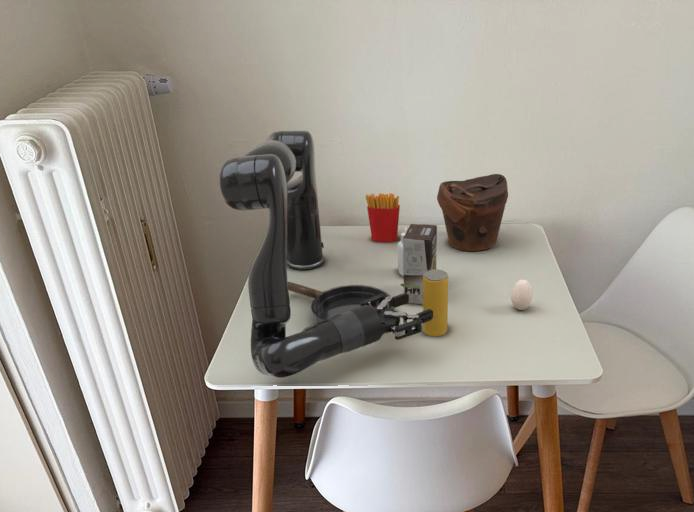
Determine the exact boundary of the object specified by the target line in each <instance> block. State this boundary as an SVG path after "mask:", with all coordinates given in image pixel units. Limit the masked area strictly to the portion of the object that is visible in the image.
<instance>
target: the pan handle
mask: <svg viewBox="0 0 694 512" xmlns="http://www.w3.org/2000/svg"><path fill="white" fill-rule="evenodd" d="M288 291H289V292H292V293H295V294H298V295H302V296H304V297H305V296H306V297H309V298H312V299H315V298H316V297H317V296H318V295H321V294H323V293H322V292H323V291H322V290H318V289H314V288H311V287H309V286H305V285H303V284H302V285H301V284H299V283H296V282H291V281H288Z"/></svg>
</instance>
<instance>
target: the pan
mask: <svg viewBox="0 0 694 512" xmlns="http://www.w3.org/2000/svg"><path fill="white" fill-rule="evenodd" d="M321 292H322V293H323V294H321V295H318V296H317V297H316V298H313V300H312V302H311V304H310V309H311V310H310V313H311V317H312V322H313V324H316V323H319V322H322V321H325V320H327V319H330V318H332V317H333V316H336V315H338V314H341V313H344V312H347V311H349V310H352V309H355V308H358V307H360V302H361V301H364V300H366V299H369V298H372V297H374V296H377V295H379V294H384V295H385V297H388V296H390V297H392V295H390V294H389V293H388V292H387V291H385V290H383V289H382V288H378V287H375V286H371V285H364V284H348V285H340V286H336V287H332V288H329V289H327V290H325V291H321ZM378 303H379V300H378V301H377V302H376V304H378ZM392 308H393V309H394V310H395V308H394V307H393V306H392Z"/></svg>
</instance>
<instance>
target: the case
mask: <svg viewBox="0 0 694 512" xmlns="http://www.w3.org/2000/svg"><path fill="white" fill-rule="evenodd" d="M508 190H509V189H508V181H507V178H506V177H505V175H503V174H502V173H501V174H499V173H492V174H487V175H483V176H476V177H474V178H468V179H465V180H446V181H442V182H441V183H440V184H439V186H438V191H437V196H436V201H437V203H438V206H439V207H440V209H441V212H442V215H443V220H444V221H443V222H444V225H445V231H446V235H447V240H448V244H449V245H450V246H451V247H452V248H454V249H457V250H460V251H467V252H477V251H479V252H480V251H485V250H488V249H491V248H493V247H494V246H495V245H496V243H497V241H498V236H499V232H500V229H501V224H502V221H503V217H504V212H505V208H506V205H507V202H508V197H509V191H508Z"/></svg>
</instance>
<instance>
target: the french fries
mask: <svg viewBox="0 0 694 512" xmlns="http://www.w3.org/2000/svg"><path fill="white" fill-rule="evenodd" d="M365 200H366V203H367V206H366V208H367V215H368V222H369V228H370V235H371V241H373V242H377V243H393V242H397V240H398V232H399V222H400V221H399V220H400V208H401V207H400V206H401V205H400V204H399V200H400V196H399V195H396V196H395V194H394V193H381V192H379V193H378V195H375V194H374V193H371V194H366V195H365Z"/></svg>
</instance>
